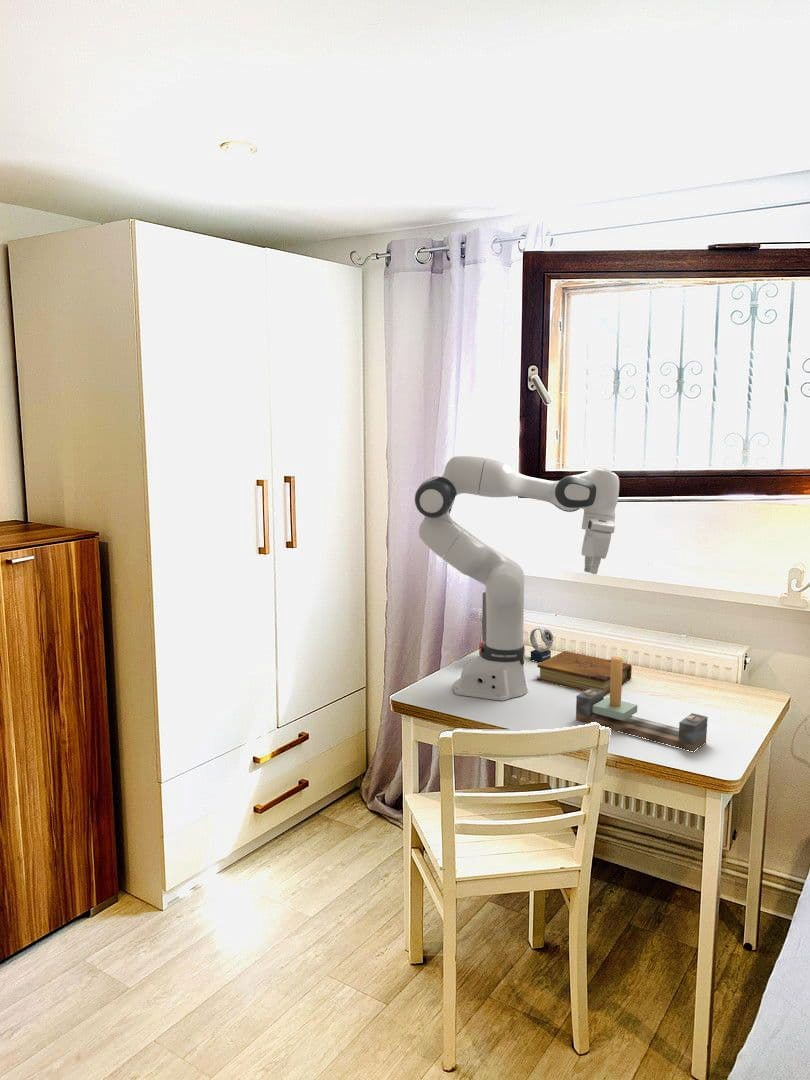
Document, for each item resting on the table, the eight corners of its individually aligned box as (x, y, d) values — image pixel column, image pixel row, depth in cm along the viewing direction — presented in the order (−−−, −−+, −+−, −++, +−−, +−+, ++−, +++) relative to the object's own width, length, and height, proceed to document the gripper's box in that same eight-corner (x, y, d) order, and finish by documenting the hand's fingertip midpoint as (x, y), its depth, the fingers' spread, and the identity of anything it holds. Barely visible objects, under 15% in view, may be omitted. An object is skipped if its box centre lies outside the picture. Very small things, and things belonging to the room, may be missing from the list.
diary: (631, 681, 259) (631, 663, 258) (604, 698, 245) (605, 679, 244) (565, 666, 274) (566, 649, 273) (536, 681, 259) (537, 663, 258)
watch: (546, 664, 275) (546, 632, 273) (526, 659, 280) (526, 627, 278) (555, 660, 279) (556, 628, 277) (535, 655, 284) (536, 624, 282)
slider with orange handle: (592, 712, 223) (594, 658, 220) (606, 704, 229) (608, 652, 226) (623, 720, 217) (625, 665, 214) (637, 712, 223) (639, 658, 220)
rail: (575, 720, 227) (576, 694, 225) (590, 711, 233) (590, 686, 231) (693, 752, 205) (695, 724, 204) (706, 742, 211) (707, 715, 210)
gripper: (580, 524, 247) (573, 569, 247) (593, 523, 226) (585, 573, 227) (601, 527, 247) (594, 573, 247) (616, 526, 226) (608, 576, 226)
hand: (590, 573), depth 237 cm, fingers open, 8 cm apart
